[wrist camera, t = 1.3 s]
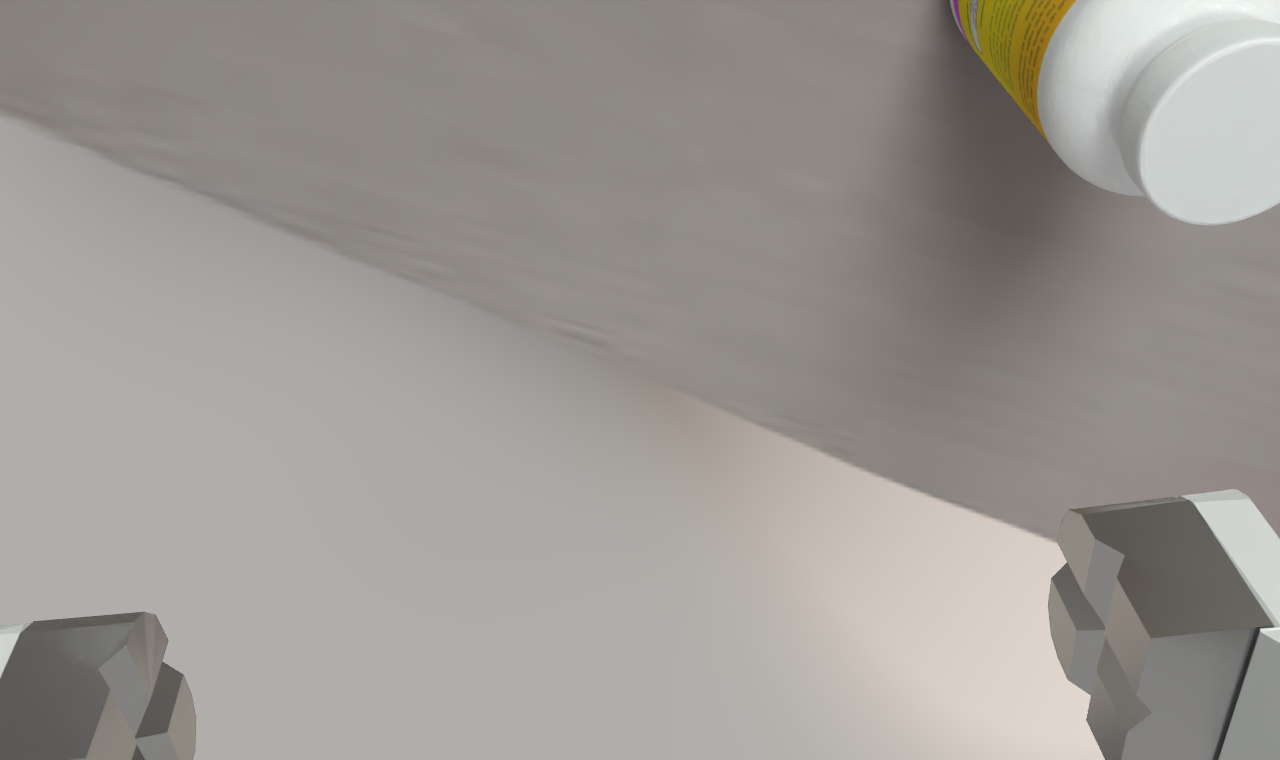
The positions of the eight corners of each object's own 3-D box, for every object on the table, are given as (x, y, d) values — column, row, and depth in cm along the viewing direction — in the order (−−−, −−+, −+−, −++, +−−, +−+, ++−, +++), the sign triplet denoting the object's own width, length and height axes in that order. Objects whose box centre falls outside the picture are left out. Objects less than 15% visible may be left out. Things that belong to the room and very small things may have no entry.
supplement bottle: (921, 57, 40) (1057, 257, 30) (970, -160, 36) (1146, -16, 26) (1118, 67, 41) (1317, 267, 30) (1186, -145, 37) (1442, 2, 26)
